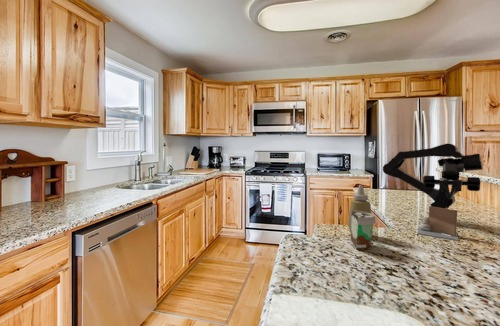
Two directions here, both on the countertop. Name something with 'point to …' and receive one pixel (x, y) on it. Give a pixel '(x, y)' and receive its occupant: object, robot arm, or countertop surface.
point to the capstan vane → (440, 220)
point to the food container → (361, 229)
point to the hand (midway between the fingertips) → (449, 198)
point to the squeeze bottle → (359, 204)
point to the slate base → (437, 234)
